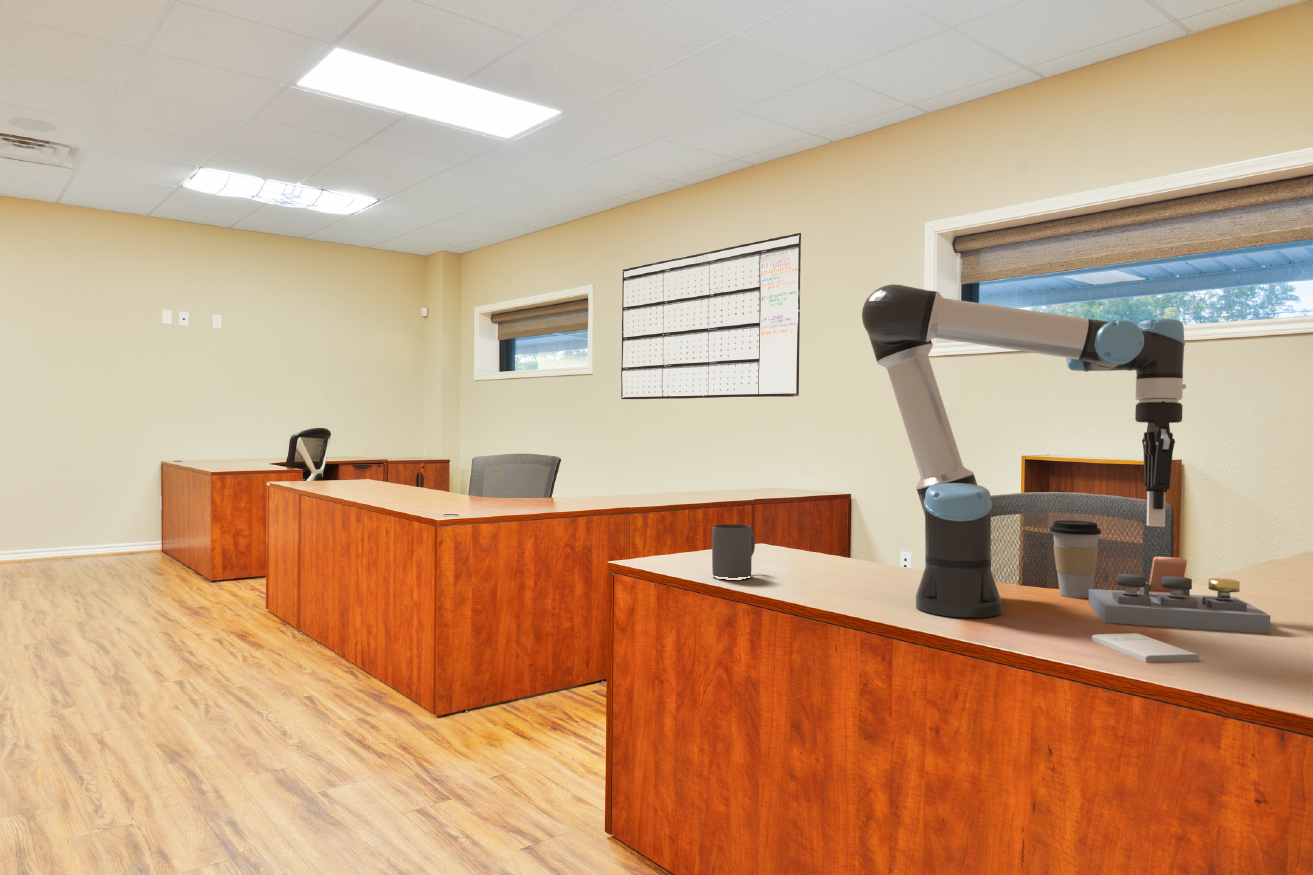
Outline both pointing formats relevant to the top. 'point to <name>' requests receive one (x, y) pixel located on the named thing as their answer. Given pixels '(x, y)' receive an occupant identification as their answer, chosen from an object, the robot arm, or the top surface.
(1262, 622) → the control panel
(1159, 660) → the external hard drive
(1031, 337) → the robot arm
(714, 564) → the mug
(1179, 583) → the black button mid
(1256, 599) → the top surface
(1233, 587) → the brass button
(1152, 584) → the paddle lever
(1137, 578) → the black button left
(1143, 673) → the top surface
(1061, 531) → the coffee cup
